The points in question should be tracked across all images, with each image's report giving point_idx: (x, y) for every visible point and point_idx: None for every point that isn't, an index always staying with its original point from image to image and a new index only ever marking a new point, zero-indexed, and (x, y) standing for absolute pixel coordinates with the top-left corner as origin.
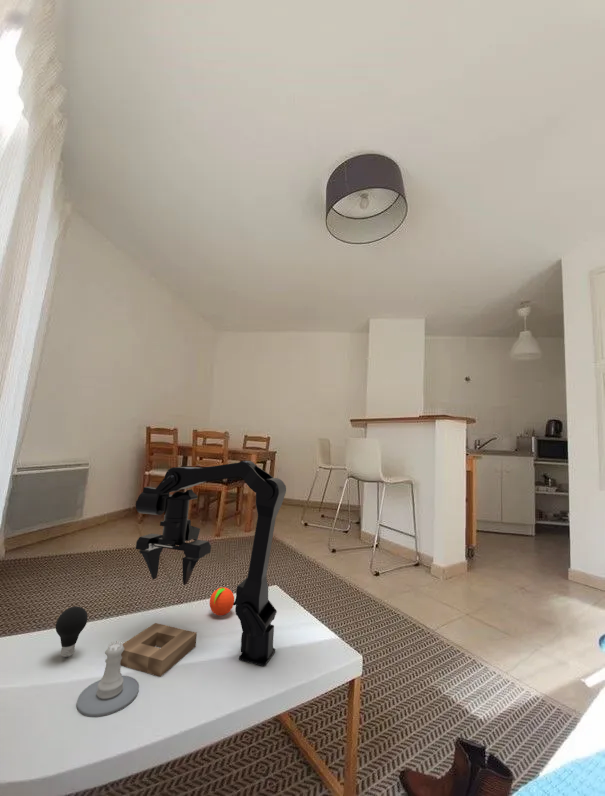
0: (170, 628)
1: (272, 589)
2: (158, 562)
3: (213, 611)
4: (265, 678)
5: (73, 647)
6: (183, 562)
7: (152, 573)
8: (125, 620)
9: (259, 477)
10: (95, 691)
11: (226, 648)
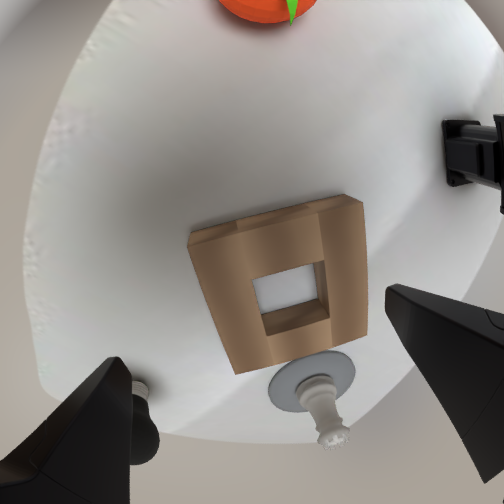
0: (268, 237)
1: None
2: (71, 435)
3: (261, 22)
4: (486, 204)
5: (143, 393)
6: (479, 455)
7: (130, 419)
8: (46, 233)
9: None
10: (293, 397)
11: (409, 156)
